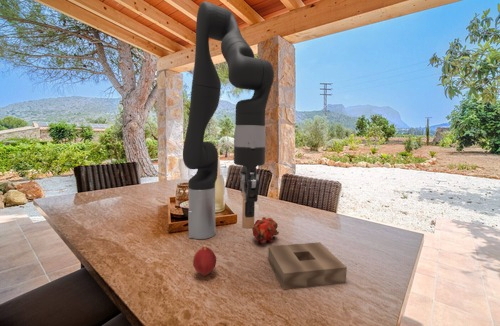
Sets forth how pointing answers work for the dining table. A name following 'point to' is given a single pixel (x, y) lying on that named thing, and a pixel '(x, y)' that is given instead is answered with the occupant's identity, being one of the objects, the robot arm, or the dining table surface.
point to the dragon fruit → (265, 230)
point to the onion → (204, 261)
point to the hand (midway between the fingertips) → (248, 214)
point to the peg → (247, 221)
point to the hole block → (305, 265)
